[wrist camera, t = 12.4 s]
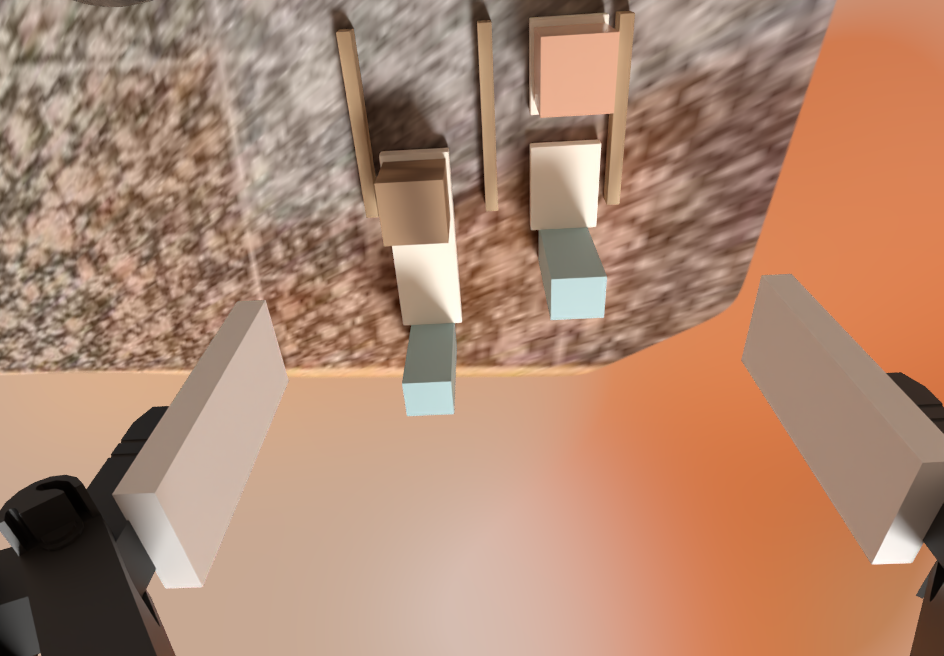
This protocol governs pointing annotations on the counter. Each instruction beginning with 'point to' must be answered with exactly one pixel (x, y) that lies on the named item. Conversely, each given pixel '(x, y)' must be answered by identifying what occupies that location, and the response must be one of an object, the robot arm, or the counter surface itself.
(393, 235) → the block walnut
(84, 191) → the counter surface
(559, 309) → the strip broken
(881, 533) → the robot arm
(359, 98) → the lane frame
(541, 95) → the block clay
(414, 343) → the multicoloured block
